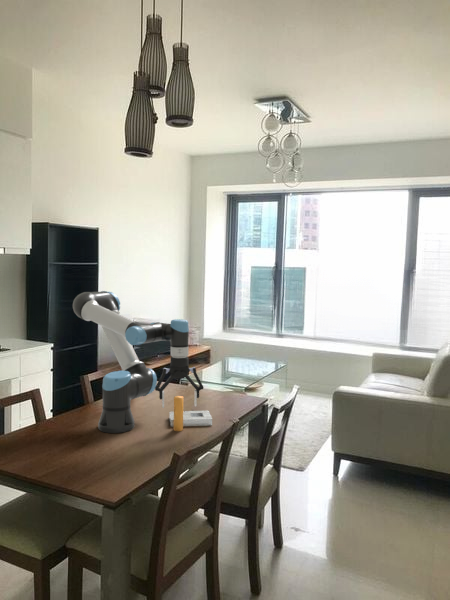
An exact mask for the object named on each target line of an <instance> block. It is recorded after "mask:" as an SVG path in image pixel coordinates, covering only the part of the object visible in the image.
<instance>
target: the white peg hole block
mask: <svg viewBox="0 0 450 600" xmlns="http://www.w3.org/2000/svg"><path fill="white" fill-rule="evenodd" d="M168 414H169V424H170V427H171V428H174V410H173V411H169V413H168ZM203 426H206V427H207V426H208V427H209V426H213V417H212V415H211V413H210V411H209V410H208V409H207V410H185V411H184V410H183V427H203Z"/></svg>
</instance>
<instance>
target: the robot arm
mask: <svg viewBox="0 0 450 600" xmlns="http://www.w3.org/2000/svg"><path fill="white" fill-rule="evenodd" d="M120 305H121V301H120V298H119V297H118V295H116V293H114V292H112V291H105V290H102V291H83V292H81V293H79V294H77V295H76V296H75V298H74V299H73V302H72V309H73V313H74V314H75V315H76V316H77V317H78V318H80V319H81V320H84V321H86V322H90V321H91V322H93V323H95V324H97V325H100V326H101V327H102V330H103V332H104V334H105V337H106V339H107V340H108V343H109V345H110V346H111V349H112V351H113V353H114V356H115V357H116V360H117V362H118V364H119V366H120V367H121V368H120V369H121V370H117V371H116V370H115V371H111V372H108V373H107V374H105V375H104V376H103V377H102V378H103V379H102V385H101V387H102V388H101V389H102V409H101V414H100V416H99V417H100V418H99V420H98V424H97V426H98V428H97V429H98V430H99V431H100V432H102V433H108V434H120V433H126V432H129V431H132V430H133V429H134V428H135V418H134V415H133V413H132V409H131V404H132V403H131V401H132V400H134V399H138V398H141V397H146V396H148V395H150V394H152V393H153V392H154V391H157V392H158V394H159V397H158V398H159V400H161V404H162V405H161V407H162V408H163V409H164V408H165V389H166V388H167V387H168V385H169V384H171V381H172V380H174V379H176V380H179V379H181V380H182V379H186V380H187V381H188V383H190V384H191V386H192V387H193V388H194V391H193V395H194V396H193V398H194V401H193V404H194V407H197V405H198V403H197V402H198V400H197V399H199V398H200V391H201V390H203V389H204V385H203V383H202V382H201V379H200V377H199V376H198V374H197V373H198V372H197V369H196V367H195V366H193V367H189V361H190V359H189V336H190V335H189V334H190V328H189V327H190V326H189V321H188V320H187V319H182V318H181V319H179V318H177V319H176V318H175V319H172V320H170V323H167V322H164V323H163V322H156V321H155V322H151V323H149V324H141V323H139V322H136V321H134V320H132V319H130V318H127V317H125V316H123V315H121V313H120V309H121V306H120ZM160 341H163V342H164V341H165V342H170V367H169V368H166V367H162V374H161V375H160V377H159V379H158V377H157V373H156V372H155V371H154V370H153V369H151V368H149V367H147V366H146V364H145V362H144V361H140V359H139V357H138V355H137V354H136V351H135V349H134V347H133V346H135V345H136V346H141V345H142V344H149V343H155V342H160ZM190 372H191V373H192V374H193V375H194V378H195V380H196V382H197V383H195V381H194V380H193V379H192V377H190V376H189V375H188V374H189V373H190ZM168 373H170V376H168V378H167V379H166V381H165V382H164V383H163V381H164V379H165V377H166V375H167V374H168ZM162 383H163V384H162ZM161 384H162V385H161ZM197 384H198V385H199V386H198V385H197Z"/></svg>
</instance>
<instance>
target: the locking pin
mask: <svg viewBox="0 0 450 600" xmlns="http://www.w3.org/2000/svg"><path fill="white" fill-rule="evenodd" d="M184 398H185V397H184V396H181V395H176V396H174V397H173V411H174V427H173V431H175V432H182V431H184V426H183V411H184V400H185V399H184Z"/></svg>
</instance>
